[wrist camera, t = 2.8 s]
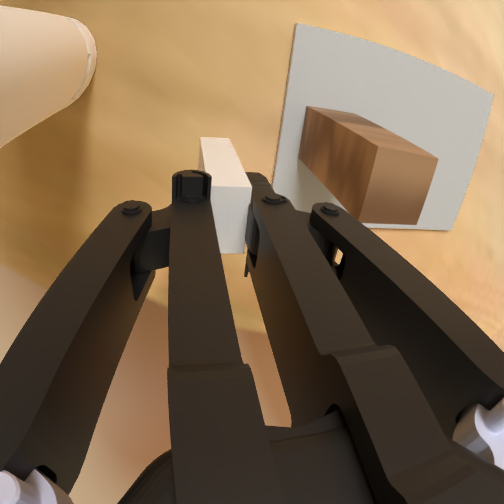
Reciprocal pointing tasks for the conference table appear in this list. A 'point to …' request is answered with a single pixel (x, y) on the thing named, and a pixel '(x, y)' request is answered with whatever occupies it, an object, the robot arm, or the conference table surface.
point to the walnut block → (366, 166)
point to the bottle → (40, 67)
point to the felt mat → (381, 115)
